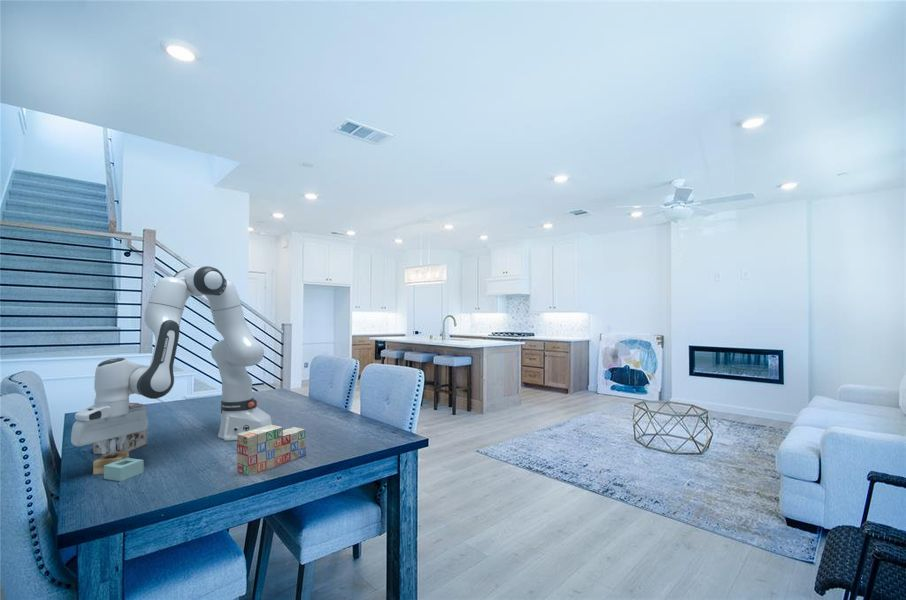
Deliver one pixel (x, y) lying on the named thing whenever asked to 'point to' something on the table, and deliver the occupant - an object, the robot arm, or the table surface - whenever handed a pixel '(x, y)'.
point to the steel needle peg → (112, 448)
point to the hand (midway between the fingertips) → (111, 451)
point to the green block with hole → (123, 469)
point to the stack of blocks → (268, 448)
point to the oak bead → (107, 461)
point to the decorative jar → (127, 441)
